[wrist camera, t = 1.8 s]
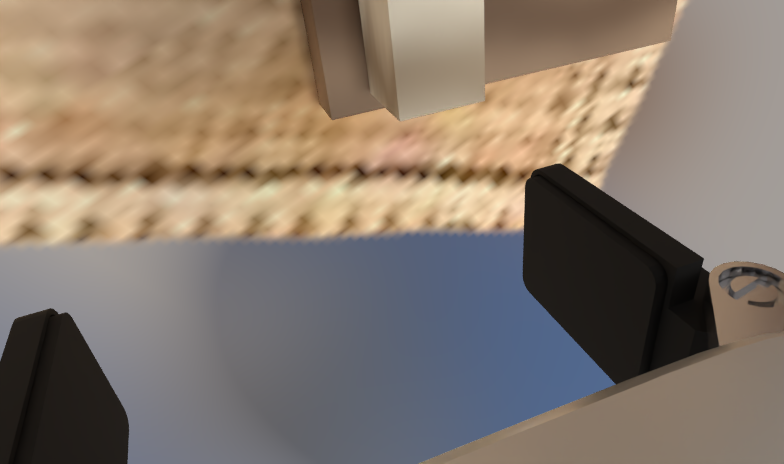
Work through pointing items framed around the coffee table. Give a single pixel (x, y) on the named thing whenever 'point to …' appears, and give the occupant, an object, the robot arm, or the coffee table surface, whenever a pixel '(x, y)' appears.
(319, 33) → the brown board with blocks
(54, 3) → the coffee table surface
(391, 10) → the folding leg
